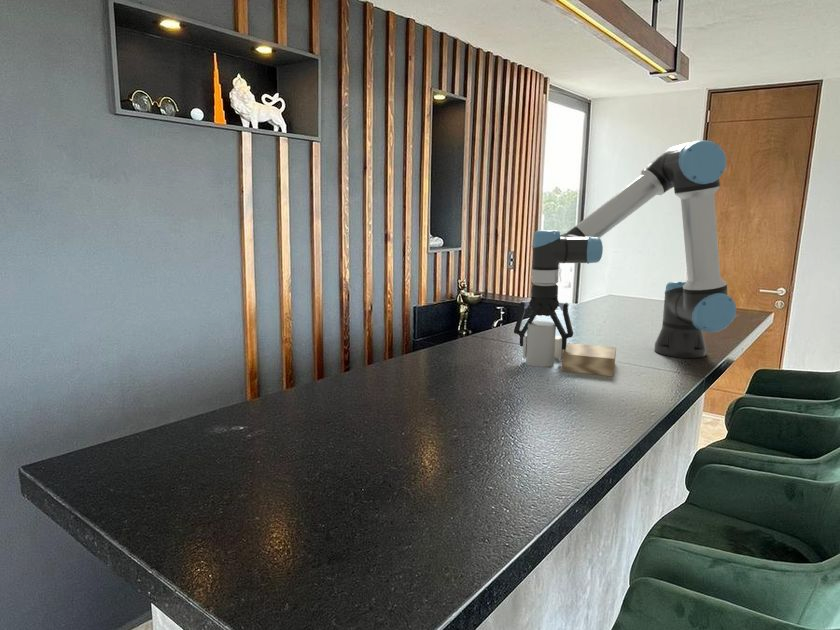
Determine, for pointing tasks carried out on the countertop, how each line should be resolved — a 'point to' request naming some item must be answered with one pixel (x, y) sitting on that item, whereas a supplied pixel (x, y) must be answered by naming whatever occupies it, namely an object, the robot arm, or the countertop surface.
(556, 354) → the cream block
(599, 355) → the oak block
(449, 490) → the countertop surface
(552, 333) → the grey cylinder
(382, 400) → the countertop surface
